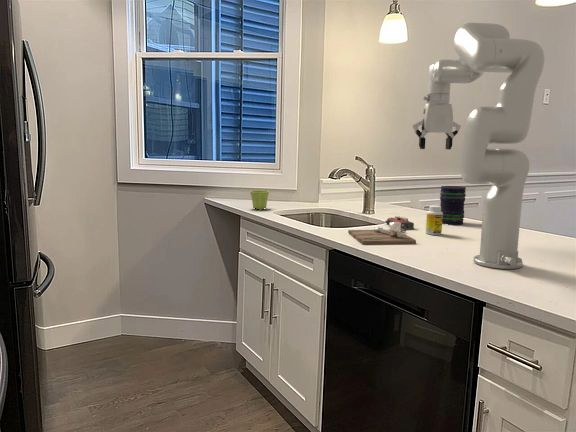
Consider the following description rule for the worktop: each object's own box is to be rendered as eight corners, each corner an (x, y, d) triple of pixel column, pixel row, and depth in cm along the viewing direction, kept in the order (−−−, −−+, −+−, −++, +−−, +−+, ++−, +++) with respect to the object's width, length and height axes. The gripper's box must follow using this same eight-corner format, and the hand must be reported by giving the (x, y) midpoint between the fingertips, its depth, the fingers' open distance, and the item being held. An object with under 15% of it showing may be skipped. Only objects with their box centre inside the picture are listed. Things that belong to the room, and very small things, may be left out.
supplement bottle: (434, 236, 175) (436, 207, 173) (422, 233, 179) (423, 205, 178) (444, 234, 178) (446, 206, 176) (432, 232, 182) (434, 204, 181)
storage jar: (468, 224, 199) (471, 187, 197) (449, 225, 196) (451, 188, 194) (452, 220, 209) (454, 185, 206) (433, 221, 205) (435, 186, 203)
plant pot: (247, 208, 238) (247, 190, 237) (266, 207, 241) (266, 189, 239) (252, 210, 229) (252, 192, 228) (271, 210, 232) (271, 192, 231)
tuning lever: (405, 237, 165) (406, 224, 164) (397, 237, 163) (398, 224, 162) (380, 229, 177) (380, 217, 176) (371, 230, 175) (372, 218, 175)
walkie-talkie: (380, 225, 198) (402, 234, 179) (380, 214, 197) (402, 222, 178) (400, 224, 200) (424, 233, 181) (400, 213, 199) (424, 222, 180)
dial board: (415, 243, 161) (416, 239, 161) (362, 244, 159) (362, 240, 159) (396, 232, 180) (396, 228, 180) (348, 233, 178) (348, 229, 177)
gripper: (418, 98, 168) (415, 149, 171) (466, 99, 170) (463, 149, 173) (410, 100, 175) (408, 148, 178) (456, 101, 177) (453, 149, 180)
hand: (435, 149), depth 175 cm, fingers open, 9 cm apart
